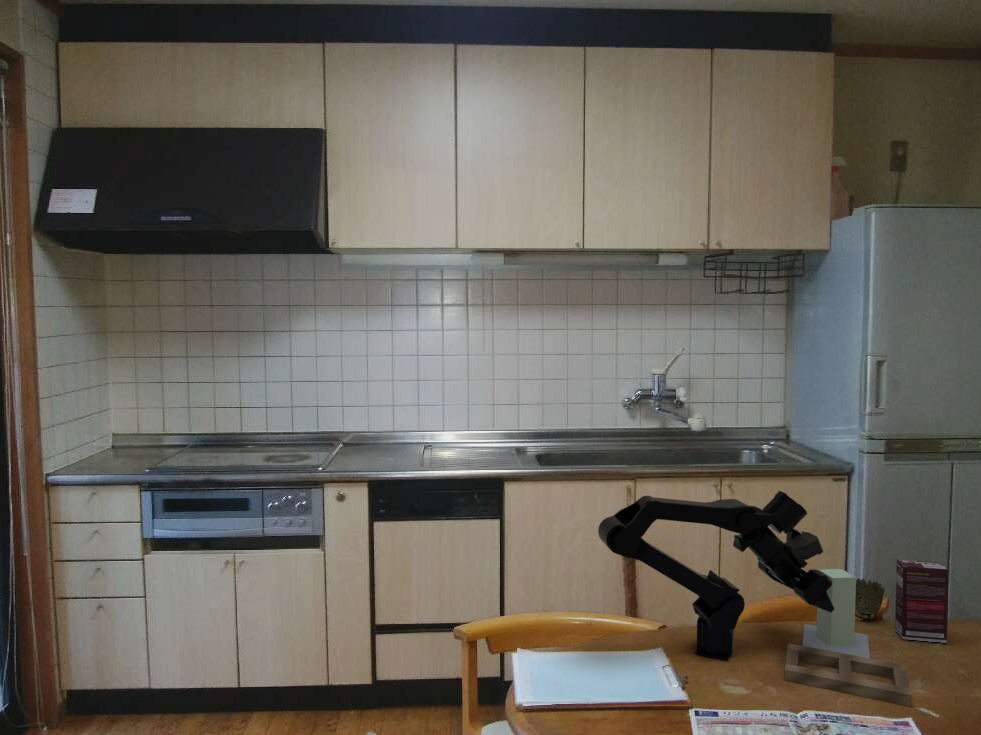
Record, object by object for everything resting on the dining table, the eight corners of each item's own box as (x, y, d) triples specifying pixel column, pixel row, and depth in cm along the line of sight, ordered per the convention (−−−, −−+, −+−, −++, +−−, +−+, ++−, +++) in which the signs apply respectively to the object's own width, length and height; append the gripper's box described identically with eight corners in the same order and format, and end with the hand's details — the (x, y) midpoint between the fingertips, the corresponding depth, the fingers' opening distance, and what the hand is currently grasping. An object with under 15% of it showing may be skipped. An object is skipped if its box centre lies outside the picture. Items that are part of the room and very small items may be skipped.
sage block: (830, 646, 139) (832, 578, 138) (816, 635, 144) (818, 569, 143) (854, 645, 139) (856, 577, 139) (839, 634, 144) (841, 568, 143)
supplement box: (938, 634, 146) (940, 561, 146) (947, 645, 142) (950, 569, 141) (893, 630, 148) (895, 558, 148) (901, 640, 144) (903, 565, 143)
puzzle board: (784, 680, 127) (784, 669, 127) (788, 652, 138) (788, 643, 138) (910, 706, 118) (911, 695, 118) (904, 675, 129) (904, 664, 129)
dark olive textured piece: (888, 626, 150) (889, 590, 150) (852, 623, 152) (853, 588, 152) (876, 613, 158) (877, 578, 157) (841, 610, 159) (842, 576, 159)
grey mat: (802, 651, 139) (802, 646, 139) (804, 628, 149) (804, 623, 149) (870, 664, 133) (870, 659, 133) (867, 639, 144) (867, 634, 144)
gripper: (824, 534, 130) (876, 590, 132) (773, 509, 148) (819, 558, 150) (783, 576, 129) (836, 632, 131) (737, 545, 148) (784, 594, 150)
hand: (818, 601), depth 141 cm, fingers open, 9 cm apart
